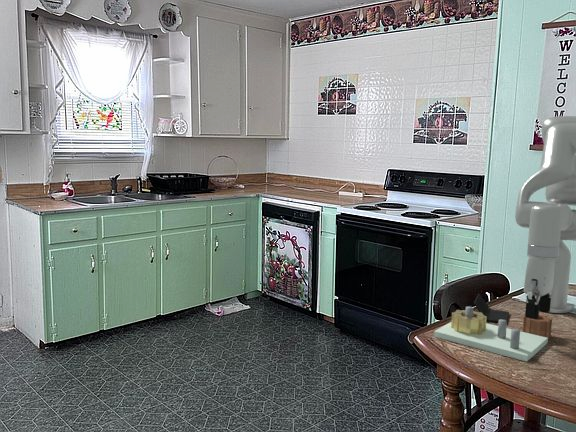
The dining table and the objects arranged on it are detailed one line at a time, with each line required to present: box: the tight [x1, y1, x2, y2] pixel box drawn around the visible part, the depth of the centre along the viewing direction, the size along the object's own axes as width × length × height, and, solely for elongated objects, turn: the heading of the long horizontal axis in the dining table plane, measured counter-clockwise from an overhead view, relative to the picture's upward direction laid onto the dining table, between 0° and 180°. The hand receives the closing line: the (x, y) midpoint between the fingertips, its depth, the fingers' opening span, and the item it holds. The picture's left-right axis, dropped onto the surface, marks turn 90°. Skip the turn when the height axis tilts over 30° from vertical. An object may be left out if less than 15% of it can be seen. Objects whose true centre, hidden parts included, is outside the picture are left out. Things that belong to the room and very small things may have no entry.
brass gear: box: [450, 309, 487, 335], centre depth 146 cm, size 9×9×4 cm
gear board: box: [433, 306, 549, 362], centre depth 142 cm, size 16×24×8 cm, turn 48°
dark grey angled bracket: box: [473, 293, 510, 324], centre depth 161 cm, size 12×7×10 cm
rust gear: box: [522, 314, 553, 340], centre depth 146 cm, size 7×7×5 cm
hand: (537, 314), depth 145 cm, fingers open, 9 cm apart
